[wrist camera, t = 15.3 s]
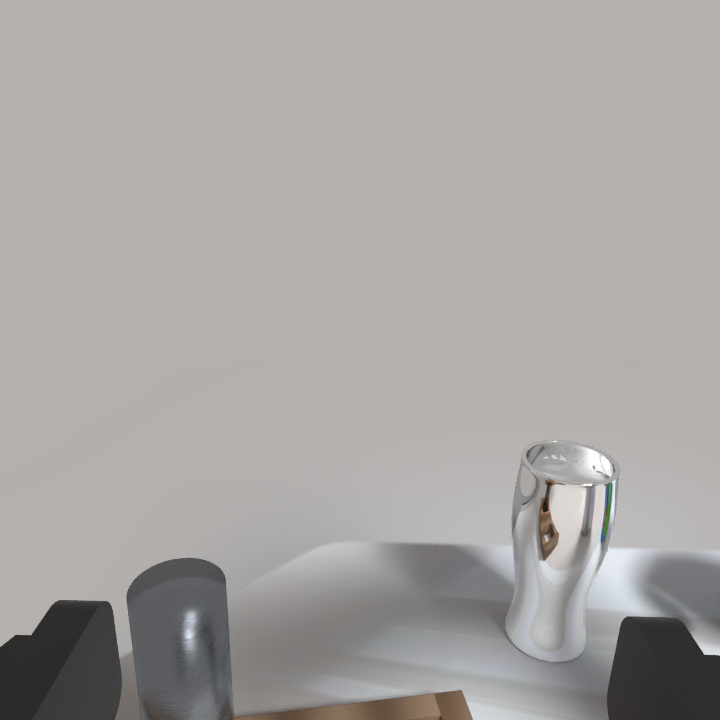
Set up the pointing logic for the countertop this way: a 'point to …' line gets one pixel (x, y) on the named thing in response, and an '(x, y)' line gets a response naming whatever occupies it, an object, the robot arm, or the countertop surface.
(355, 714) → the wooden peg holder
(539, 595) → the beer glass
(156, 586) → the metal peg
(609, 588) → the countertop surface
